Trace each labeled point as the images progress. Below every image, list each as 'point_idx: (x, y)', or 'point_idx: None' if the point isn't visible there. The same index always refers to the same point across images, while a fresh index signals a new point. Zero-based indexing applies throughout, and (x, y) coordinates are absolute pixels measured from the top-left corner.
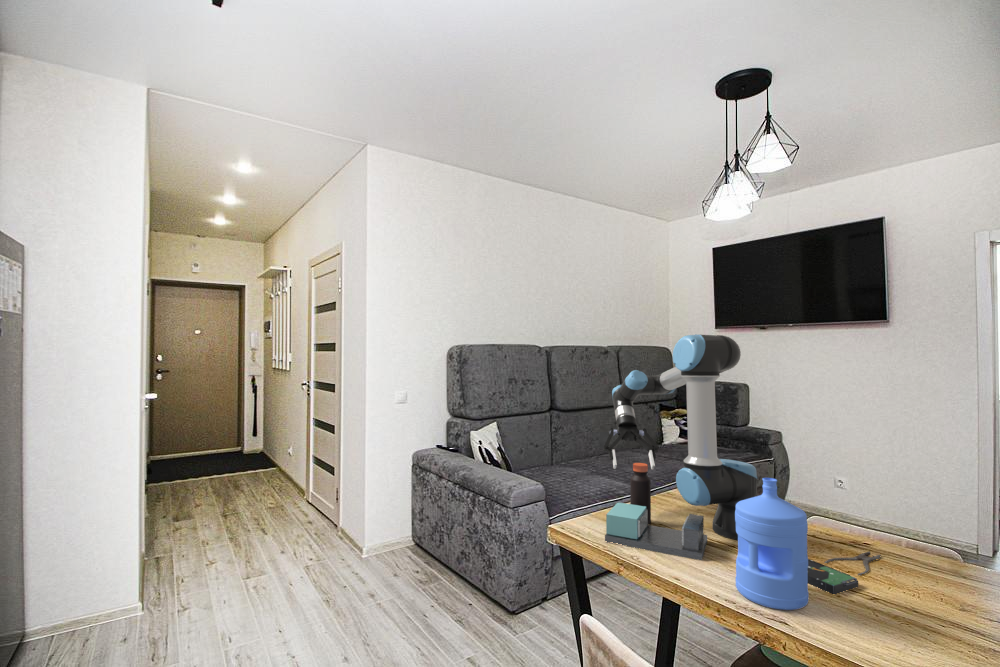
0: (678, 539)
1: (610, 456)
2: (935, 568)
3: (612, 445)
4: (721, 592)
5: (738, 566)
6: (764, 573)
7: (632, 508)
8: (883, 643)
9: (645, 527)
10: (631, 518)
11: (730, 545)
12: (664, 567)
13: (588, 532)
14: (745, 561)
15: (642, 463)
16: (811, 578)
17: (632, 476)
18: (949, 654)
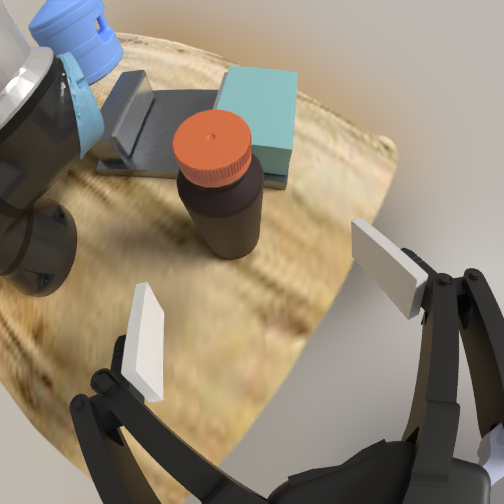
0: (153, 123)
1: (409, 252)
2: None
3: (448, 302)
4: (139, 49)
5: (114, 34)
6: (100, 29)
7: (244, 115)
8: None
9: None
10: (241, 67)
11: (71, 175)
12: (192, 64)
13: (335, 137)
14: (104, 38)
15: (198, 159)
16: None
17: (253, 163)
18: None
